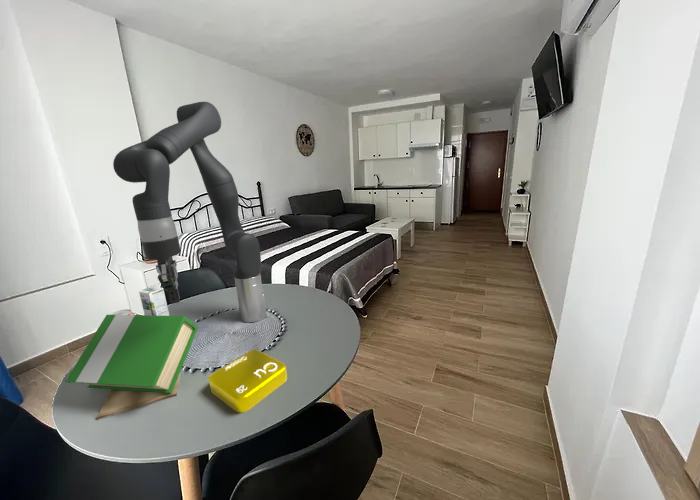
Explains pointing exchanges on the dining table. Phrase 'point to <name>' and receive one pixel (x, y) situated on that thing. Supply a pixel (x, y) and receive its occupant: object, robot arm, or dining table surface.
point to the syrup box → (154, 301)
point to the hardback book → (135, 353)
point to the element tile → (247, 380)
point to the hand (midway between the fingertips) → (175, 302)
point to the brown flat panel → (131, 400)
